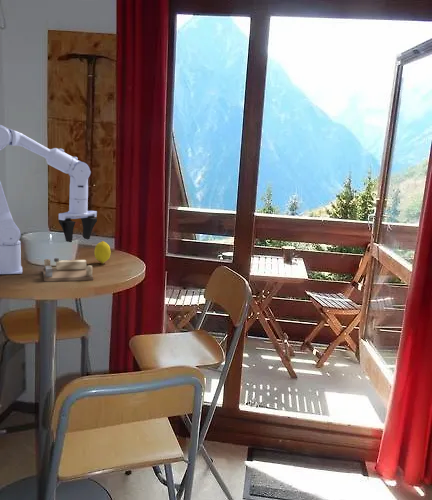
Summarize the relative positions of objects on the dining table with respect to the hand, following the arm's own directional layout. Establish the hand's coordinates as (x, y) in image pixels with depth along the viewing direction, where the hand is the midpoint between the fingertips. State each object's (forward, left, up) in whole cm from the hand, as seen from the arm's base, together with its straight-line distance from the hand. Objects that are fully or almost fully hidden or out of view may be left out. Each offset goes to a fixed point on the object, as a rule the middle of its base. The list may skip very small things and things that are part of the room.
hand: (77, 240), depth 160 cm
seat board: (-4, -9, -9) cm, 14 cm away
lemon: (+9, +6, -10) cm, 14 cm away
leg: (-3, -5, -8) cm, 10 cm away
